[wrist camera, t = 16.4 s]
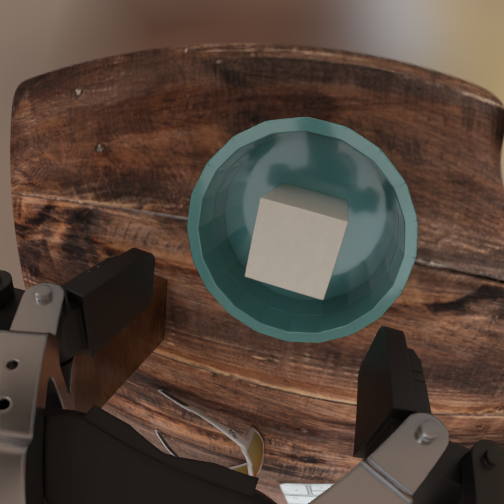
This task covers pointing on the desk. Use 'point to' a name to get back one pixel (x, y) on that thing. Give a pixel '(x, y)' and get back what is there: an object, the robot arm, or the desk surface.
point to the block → (297, 239)
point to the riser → (120, 354)
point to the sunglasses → (249, 445)
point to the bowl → (319, 180)
